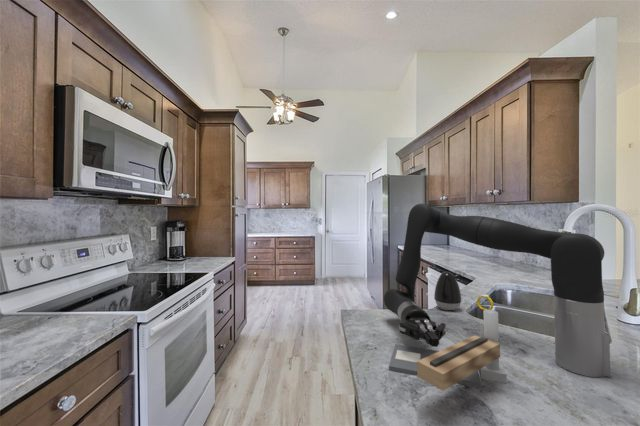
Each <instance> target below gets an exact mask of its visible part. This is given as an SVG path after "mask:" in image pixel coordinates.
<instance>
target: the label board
mask: <svg viewBox="0 0 640 426" xmlns="http://www.w3.org/2000/svg"><path fill="white" fill-rule="evenodd" d="M499 333H500V332H499V312H498V311H496V310H493V309H492V310H483V337H484V338H487V339H488V340H491V341H494V342H497V343H499V341H500V340H499V339H500V338H499ZM392 351H393V352H392V354H391V358H390V362H389V366H388V371H391V372H397V373H402V374H406V375H407V374H408V375H412V376H417V361H419V360H421V359H423V358H426V357H428V356H430V355H432V354H434V353H437V352H439V351H440V350H435V349H430V348H423V347H417V346H410V345H404V344H399V343H398V344H397V343H395V344H394V348H393V350H392ZM480 375H481V376H480ZM485 379H486V381H492V382H497V383H502V384H507V383H508V382H507V381H508V380H507V379H508V375H507V373H506V370H505V368H504V365H503V364H502V363H500V357H499V358H498V359H496V360H494V361H493V362H491V363H489V364H488V365H486V366H484V367H483V368H481V369H479V370H478V371H476V372H474V373H473V374H471V375H469V376H468V377H466V378H464V379H463V380H461V381H459V382H458V383H457V384H459V385H464V386H469V385H470V386H469V387H474V386H476V387H475V388H479V387H481V388H480V389H482V388H483V386H482V385H483V384H482V380H485Z"/></svg>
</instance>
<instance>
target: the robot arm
mask: <svg viewBox="0 0 640 426" xmlns="http://www.w3.org/2000/svg"><path fill="white" fill-rule="evenodd" d="M406 225H407V226H406V231H405V232H406V233H405V239H404V245H403V250H402V253H401V254H402V255H401V258H400V262H399V265H398V268H397V272H396V275H395V282H396V283H397V284H398V285H401V286H402V287H404V290H405V291H401V290H398V289H395V288H390V289H388V290H387V291H386V292H385V293H384V295H383V303H384V306H385V308H387V310H389V311H390V312H392V313H394V314H395V315H396V316H397V317H398V318H399V321H400V322H399V334H402V335H404V336H405V337H410V338H412V339H414V340H418V341H419V340H420V339H421V340H422V341H424V342H426V344H427V345H428V346H430V347H432V348H434V347H435V348H437V347H439V345H440V340H441V339H442V338H443V337H444V336H445V335H446V330H447V329H446V326H447V325H446V323H444V322H442V323H438V324H436V322H435V321H434V320H432V319H431V317H430V316H429V314H428V313H427V312H426V311H425V310H424V309H423V308H422V307H421V306H419V304H418V303H415V290H416V282H417V279H418V276H419V272H420V268H421V264H422V262H421V261H422V255H421V253H422V252H421V250H422V249H421V248H422V241H423V238H424V234H425V233H429V234H431V233H432V234H437V235H445V236H450V237H453V238H456V239H459V240H462V241H464V242H466V243H469V244H474V245H476V246H481V247H484V248H487V249H493V250H498V251H505V252H513V253H523V254H531V255H536V256H540V257H543V258H546V259H550V272H551V273H550V274H551V284H552V287H553V303H554V304H553V307H554V312H553V313H554V315H553V316H554V357H555V363H556V365H558V366H559V367H561V368H563V369H564V370H567V371H569V372H572V373H574V374H578V375H582V376H586V377H593V378H600V377H602V378H603V377H609V378H610V377H611V349H610V348H611V347H610V346H611V344H610V335H609V334H607V333H606V332H605V331H606V329H605V328H606V327H605V323H606V321H605V291H604V287H603V286H604V285H603V266H602V264H603V263H602V262H603V259H604V257H605V250H604V246H603V245H602V243H601V242H600V241H599V240H597V239H596V238H595V237H593V236H591V235H588V234H586V233H579V232H578V233H576V232H575V233H574V232H565V231H564V232H563V231H555V230H552V231H551V230H547V229H546V230H545V229H541V228H540V229H539V228H535V227H531V226H528V225H523V224H521V223H516V222H512V221H507V220H504V219H499V218H494V217H488V216H484V215H455V214H454V215H453V214H450V213H446V212H443V211H440V210H437V209H435V207H434V208H433V207H432V206H430V205H428V204H425V203H417V204H415V205H414V206H412V208H411V209H410V211H409V213H408V218H407V224H406Z"/></svg>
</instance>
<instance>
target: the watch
mask: <svg viewBox="0 0 640 426" xmlns="http://www.w3.org/2000/svg"><path fill="white" fill-rule="evenodd" d="M481 298H484V299H487V300H488V301H489V303H490V308H485V307H483V306H482V305H481V302H480V300H481ZM476 303H477V306H478V307H479V308H480V309H481V310H483V311H484V310H493V309H494V301H493V300H492V298H491V297H490V295H488V294H481V295H480V296H478V298H477V299H476Z"/></svg>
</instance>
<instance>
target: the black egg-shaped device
mask: <svg viewBox="0 0 640 426" xmlns="http://www.w3.org/2000/svg"><path fill="white" fill-rule="evenodd" d="M460 277H462V274H461V273H458V274H453V273H452V272H450V271H443V272H442V273H441V274H440V276H439V277H438V279H437V281H436V285H435V288H434V295H433V297H434V298H433V299H434V300H435V304H436V306H437V307H439V309H441V308H442V309H441V310H443V309H446V310H445V311H448V310H453V311H456V310H457V309H459V308H460V305H461V303H462V293H461V289H460V286H459V283H458V281H457V279H459V278H460Z"/></svg>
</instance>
